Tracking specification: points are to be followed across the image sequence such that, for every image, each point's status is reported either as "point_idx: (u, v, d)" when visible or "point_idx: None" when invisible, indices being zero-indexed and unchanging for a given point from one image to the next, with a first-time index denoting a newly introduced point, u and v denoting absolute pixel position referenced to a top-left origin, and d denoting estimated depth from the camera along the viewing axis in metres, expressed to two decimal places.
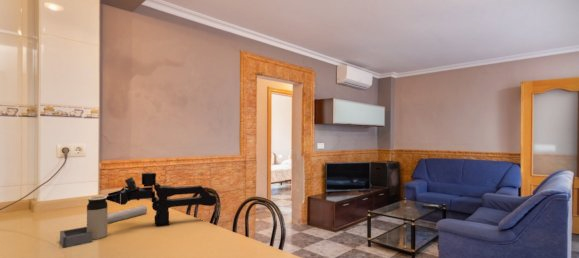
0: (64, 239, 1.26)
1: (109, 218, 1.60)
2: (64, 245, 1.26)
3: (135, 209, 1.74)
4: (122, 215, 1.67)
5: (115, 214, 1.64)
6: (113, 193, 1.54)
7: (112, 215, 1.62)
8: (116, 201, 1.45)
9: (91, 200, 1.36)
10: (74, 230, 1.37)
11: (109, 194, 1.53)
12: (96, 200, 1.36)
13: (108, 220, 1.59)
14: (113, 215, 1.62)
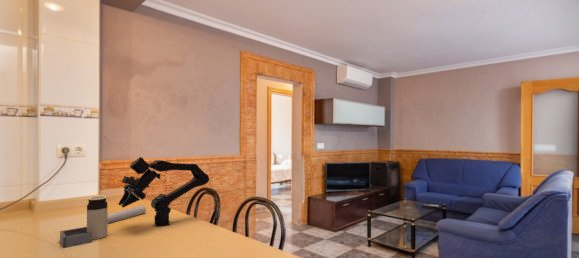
0: (64, 239, 1.26)
1: (110, 218, 1.60)
2: (64, 245, 1.26)
3: (134, 209, 1.74)
4: (122, 215, 1.67)
5: (115, 214, 1.64)
6: (122, 200, 1.49)
7: (112, 215, 1.62)
8: (134, 200, 1.45)
9: (91, 200, 1.36)
10: (74, 230, 1.37)
11: (120, 203, 1.48)
12: (96, 200, 1.36)
13: (108, 220, 1.59)
14: (113, 215, 1.62)
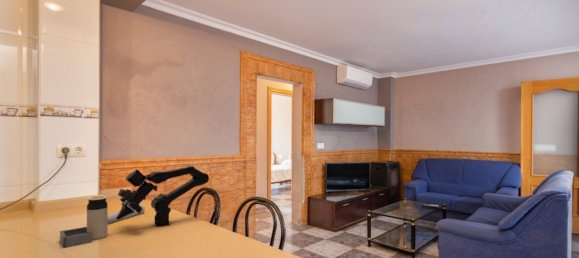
0: (64, 239, 1.26)
1: (110, 218, 1.60)
2: (64, 245, 1.26)
3: None
4: None
5: (115, 214, 1.64)
6: None
7: (113, 215, 1.62)
8: (129, 212, 1.46)
9: (91, 200, 1.36)
10: (74, 230, 1.37)
11: None
12: (96, 200, 1.36)
13: (109, 220, 1.60)
14: (114, 215, 1.63)
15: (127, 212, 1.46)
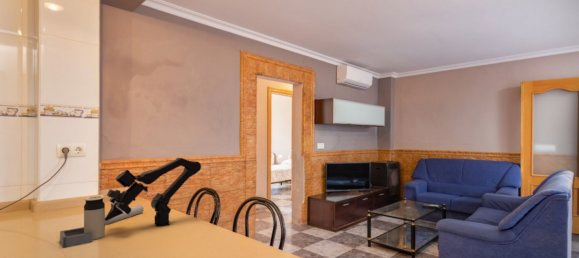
0: (64, 239, 1.26)
1: None
2: (64, 245, 1.26)
3: (133, 209, 1.75)
4: (122, 215, 1.67)
5: None
6: None
7: None
8: (118, 214, 1.43)
9: (88, 200, 1.35)
10: (74, 230, 1.37)
11: None
12: (93, 200, 1.35)
13: (110, 220, 1.60)
14: None
15: (116, 213, 1.43)
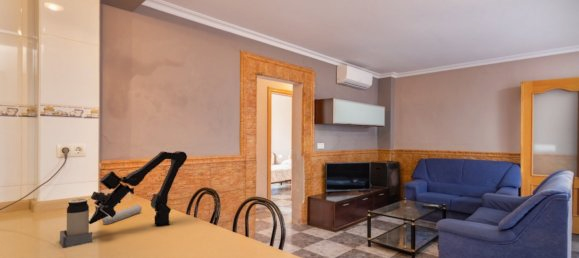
0: (64, 239, 1.26)
1: (112, 218, 1.60)
2: (64, 245, 1.26)
3: (132, 208, 1.76)
4: (122, 215, 1.68)
5: (116, 214, 1.64)
6: None
7: None
8: (102, 217, 1.39)
9: (72, 203, 1.31)
10: None
11: None
12: (77, 203, 1.31)
13: (111, 220, 1.60)
14: (115, 215, 1.63)
15: (100, 216, 1.39)
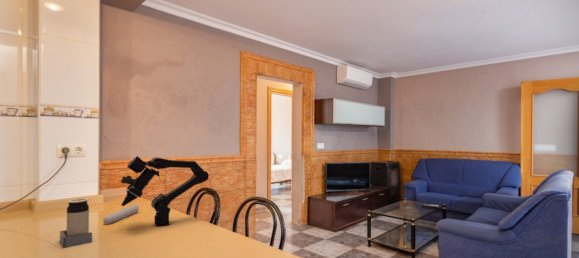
0: (64, 239, 1.26)
1: (113, 218, 1.61)
2: (64, 245, 1.26)
3: (130, 208, 1.76)
4: (122, 215, 1.68)
5: (116, 214, 1.64)
6: None
7: (114, 215, 1.63)
8: (133, 198, 1.48)
9: (72, 203, 1.31)
10: None
11: None
12: (77, 203, 1.31)
13: (112, 220, 1.60)
14: (115, 215, 1.63)
15: (131, 198, 1.48)
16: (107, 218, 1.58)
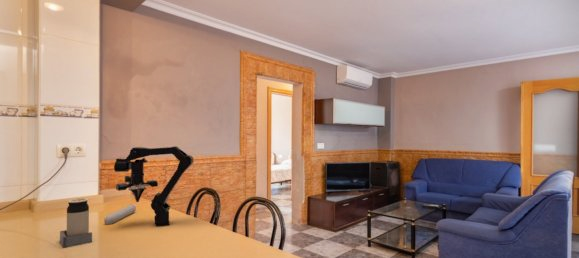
0: (64, 239, 1.26)
1: (114, 217, 1.61)
2: (64, 245, 1.26)
3: (128, 208, 1.76)
4: (122, 214, 1.68)
5: (117, 214, 1.65)
6: None
7: (115, 215, 1.63)
8: (134, 192, 1.54)
9: (72, 203, 1.31)
10: None
11: None
12: (77, 203, 1.31)
13: (114, 220, 1.60)
14: (116, 215, 1.63)
15: None
16: (109, 218, 1.58)
